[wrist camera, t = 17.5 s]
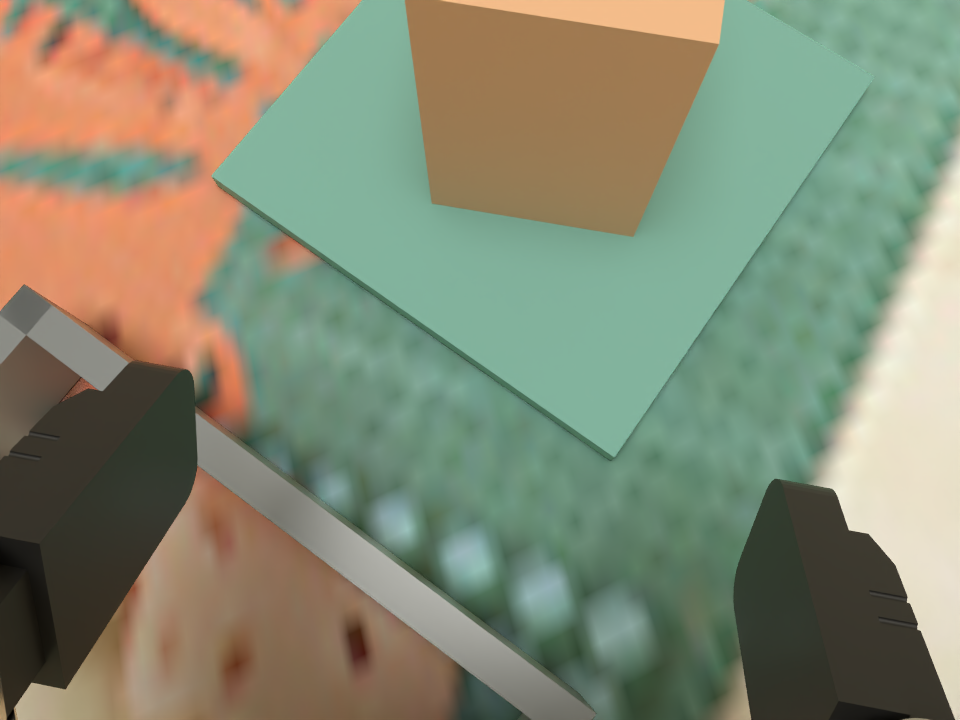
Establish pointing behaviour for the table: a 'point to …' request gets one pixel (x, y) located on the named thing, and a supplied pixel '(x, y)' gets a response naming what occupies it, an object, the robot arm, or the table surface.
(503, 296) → the mat
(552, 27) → the block
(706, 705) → the table surface
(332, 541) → the grey rectangular frame
